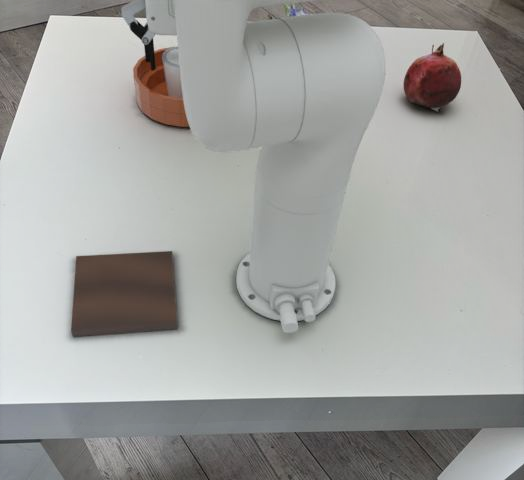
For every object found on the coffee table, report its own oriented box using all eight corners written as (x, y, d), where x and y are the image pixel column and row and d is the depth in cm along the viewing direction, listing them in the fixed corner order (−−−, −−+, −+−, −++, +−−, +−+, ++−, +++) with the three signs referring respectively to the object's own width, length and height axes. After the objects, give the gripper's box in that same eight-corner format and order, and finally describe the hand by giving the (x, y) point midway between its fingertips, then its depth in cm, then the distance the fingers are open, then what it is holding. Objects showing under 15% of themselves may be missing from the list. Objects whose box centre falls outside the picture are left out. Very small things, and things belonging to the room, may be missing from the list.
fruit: (447, 124, 93) (469, 65, 85) (393, 110, 94) (410, 51, 86) (455, 97, 98) (477, 40, 90) (404, 84, 99) (421, 26, 91)
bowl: (239, 128, 88) (240, 99, 84) (137, 130, 86) (133, 100, 82) (228, 75, 97) (229, 46, 93) (136, 76, 95) (132, 46, 91)
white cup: (200, 113, 89) (199, 70, 83) (159, 105, 89) (155, 63, 84) (210, 91, 93) (210, 49, 87) (172, 84, 93) (169, 42, 88)
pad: (177, 329, 64) (177, 324, 63) (72, 337, 63) (70, 331, 62) (172, 256, 71) (172, 250, 70) (77, 261, 69) (76, 255, 69)
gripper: (111, -50, 70) (128, 79, 84) (244, -47, 72) (239, 78, 86) (111, -74, 74) (128, 53, 88) (238, -70, 76) (234, 53, 90)
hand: (183, 65), depth 87 cm, fingers open, 9 cm apart
